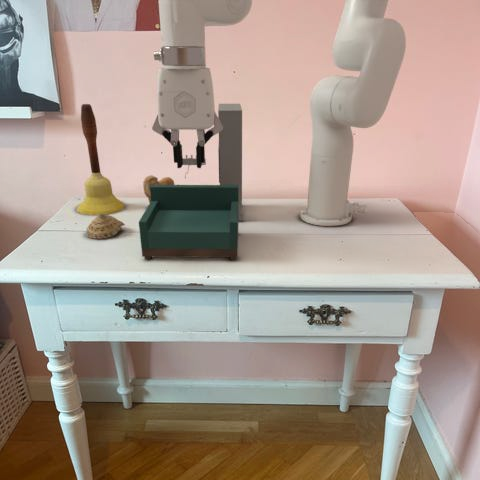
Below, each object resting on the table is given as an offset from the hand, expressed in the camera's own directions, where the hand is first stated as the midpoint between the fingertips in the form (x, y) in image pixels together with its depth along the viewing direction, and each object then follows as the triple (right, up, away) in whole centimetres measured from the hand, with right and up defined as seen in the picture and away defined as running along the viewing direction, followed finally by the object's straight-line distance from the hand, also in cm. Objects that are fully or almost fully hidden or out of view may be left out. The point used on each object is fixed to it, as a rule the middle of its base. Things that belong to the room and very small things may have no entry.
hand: (189, 165), depth 93 cm
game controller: (0, -1, +1) cm, 1 cm away
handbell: (-27, 0, +33) cm, 43 cm away
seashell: (-21, -10, +17) cm, 29 cm away
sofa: (0, -14, +10) cm, 17 cm away
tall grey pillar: (+7, -3, +30) cm, 31 cm away
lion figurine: (-11, 0, +35) cm, 37 cm away
